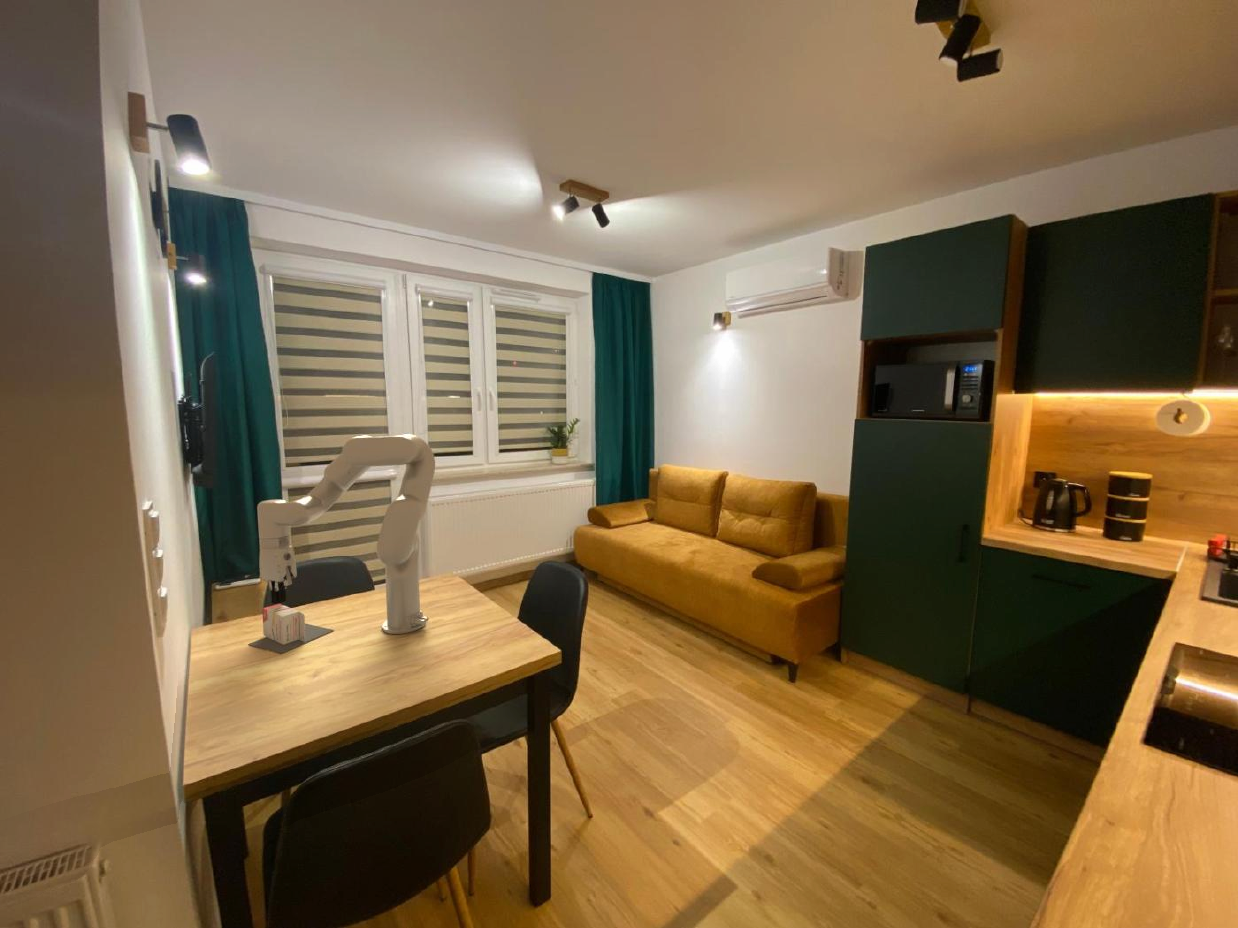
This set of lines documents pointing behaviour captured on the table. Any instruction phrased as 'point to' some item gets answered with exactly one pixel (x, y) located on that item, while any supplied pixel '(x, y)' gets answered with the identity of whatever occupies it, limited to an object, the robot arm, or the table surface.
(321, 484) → the robot arm
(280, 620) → the ink cartridge box
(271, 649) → the mat
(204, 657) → the table surface
